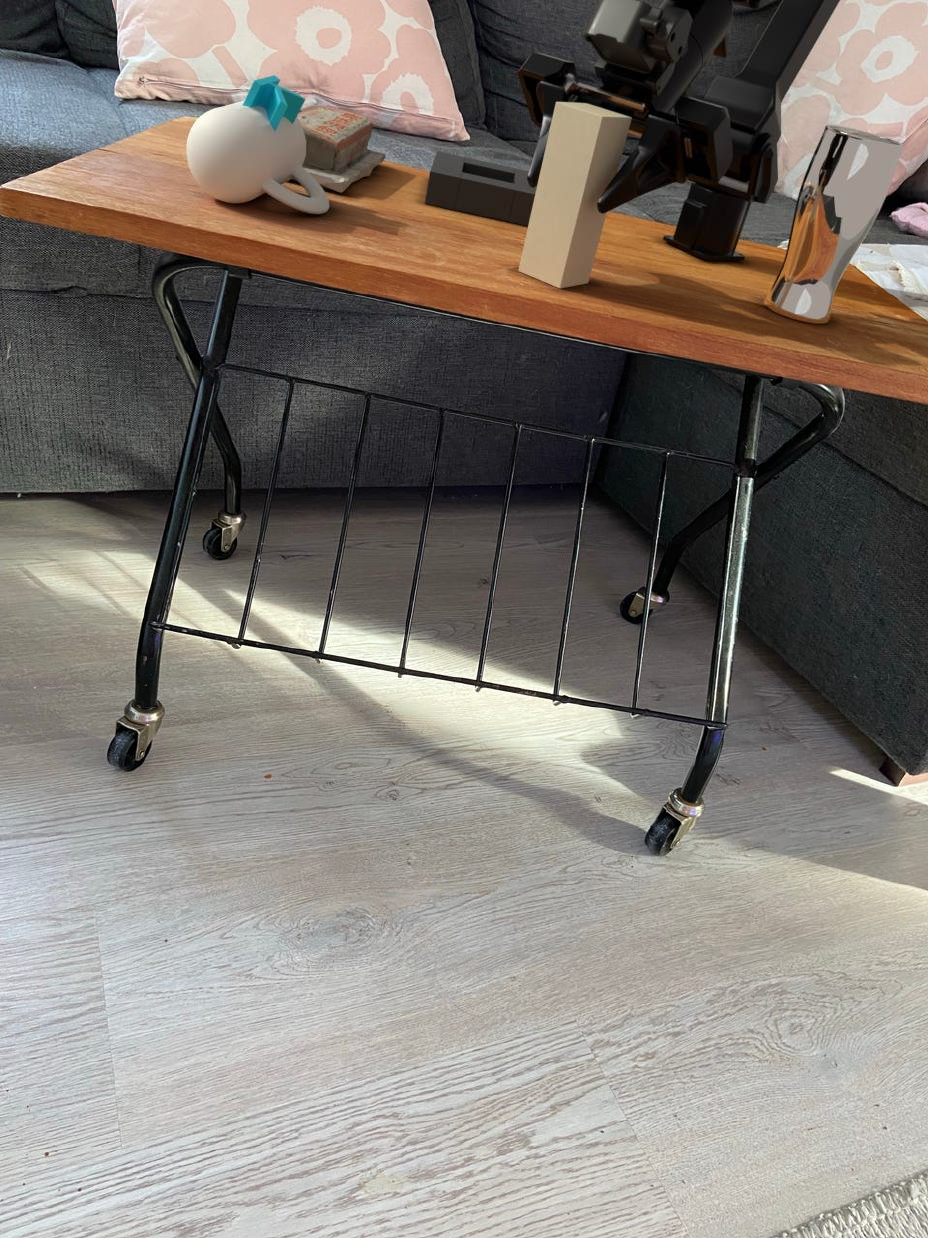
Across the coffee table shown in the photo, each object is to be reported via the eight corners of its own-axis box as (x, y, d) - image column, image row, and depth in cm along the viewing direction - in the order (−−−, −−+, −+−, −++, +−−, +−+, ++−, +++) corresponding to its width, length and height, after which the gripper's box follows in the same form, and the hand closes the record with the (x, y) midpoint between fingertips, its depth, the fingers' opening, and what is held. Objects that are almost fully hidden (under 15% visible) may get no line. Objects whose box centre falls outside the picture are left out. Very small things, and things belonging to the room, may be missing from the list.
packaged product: (301, 94, 105) (391, 117, 105) (296, 143, 107) (384, 165, 107) (244, 114, 90) (349, 140, 90) (240, 170, 93) (342, 195, 92)
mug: (207, 66, 75) (261, 57, 85) (159, 171, 80) (216, 151, 90) (336, 166, 77) (374, 145, 87) (282, 262, 82) (324, 232, 92)
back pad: (547, 266, 86) (586, 102, 79) (588, 283, 84) (632, 117, 77) (517, 271, 83) (555, 101, 76) (559, 288, 81) (602, 116, 74)
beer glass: (744, 301, 90) (808, 121, 81) (781, 295, 94) (846, 125, 86) (811, 329, 86) (885, 144, 78) (846, 322, 91) (920, 147, 82)
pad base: (535, 203, 107) (542, 173, 105) (538, 228, 97) (545, 196, 96) (432, 180, 106) (437, 150, 104) (424, 203, 96) (430, 171, 95)
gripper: (559, -65, 77) (444, 85, 76) (771, -17, 69) (648, 152, 68) (586, 54, 87) (485, 189, 86) (774, 109, 79) (667, 259, 77)
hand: (563, 196), depth 79 cm, fingers open, 7 cm apart
